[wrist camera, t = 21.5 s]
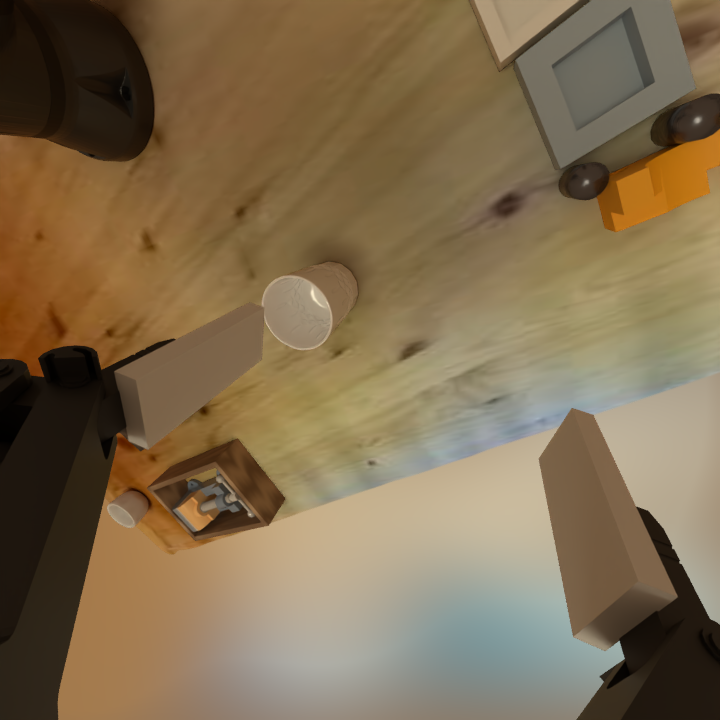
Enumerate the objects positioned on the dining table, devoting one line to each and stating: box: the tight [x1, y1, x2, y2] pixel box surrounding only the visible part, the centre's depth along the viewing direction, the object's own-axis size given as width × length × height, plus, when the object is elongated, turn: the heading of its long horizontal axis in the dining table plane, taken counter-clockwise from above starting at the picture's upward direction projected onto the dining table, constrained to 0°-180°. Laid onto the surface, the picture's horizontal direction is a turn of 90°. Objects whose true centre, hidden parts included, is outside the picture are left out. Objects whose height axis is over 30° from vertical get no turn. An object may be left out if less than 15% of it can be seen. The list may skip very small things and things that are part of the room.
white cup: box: [262, 261, 358, 350], centre depth 39 cm, size 8×8×10 cm
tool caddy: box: [147, 439, 285, 541], centre depth 66 cm, size 15×23×6 cm, turn 123°
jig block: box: [514, 0, 696, 170], centre depth 27 cm, size 9×9×2 cm
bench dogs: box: [559, 94, 720, 200], centre depth 27 cm, size 3×10×5 cm, turn 123°
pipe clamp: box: [597, 129, 720, 232], centre depth 26 cm, size 12×4×6 cm, turn 118°
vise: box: [172, 470, 255, 532], centre depth 67 cm, size 18×10×7 cm, turn 126°
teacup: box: [107, 491, 149, 528], centre depth 82 cm, size 10×8×5 cm
